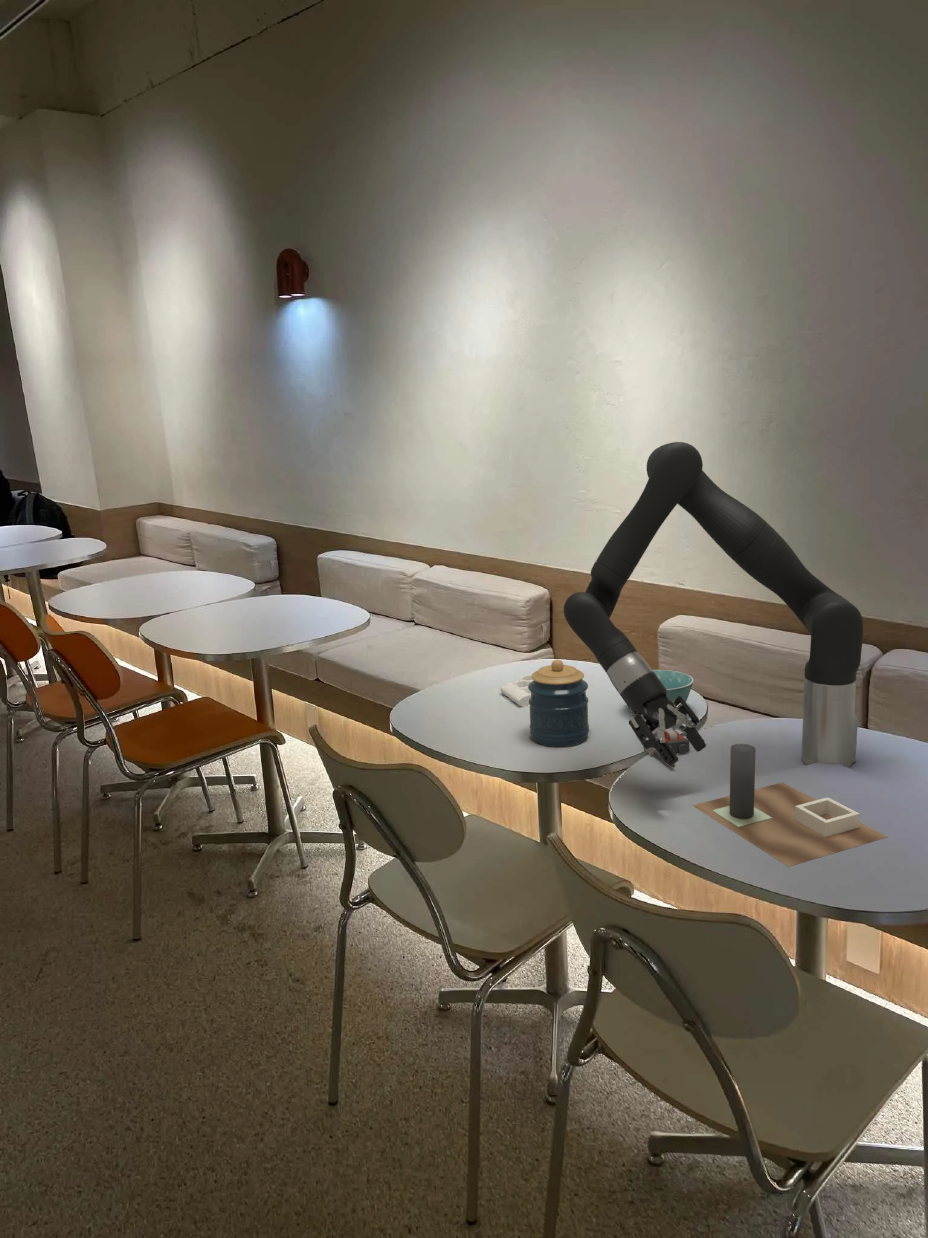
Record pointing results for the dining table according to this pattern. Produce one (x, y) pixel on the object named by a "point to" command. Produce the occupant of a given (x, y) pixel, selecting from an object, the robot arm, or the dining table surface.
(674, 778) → the dining table surface
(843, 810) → the white square frame
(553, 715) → the canister
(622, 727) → the dining table surface
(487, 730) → the dining table surface
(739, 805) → the plug
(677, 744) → the walkie-talkie
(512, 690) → the white brass knuckles
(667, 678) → the bowl
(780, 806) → the brown wooden flat board
